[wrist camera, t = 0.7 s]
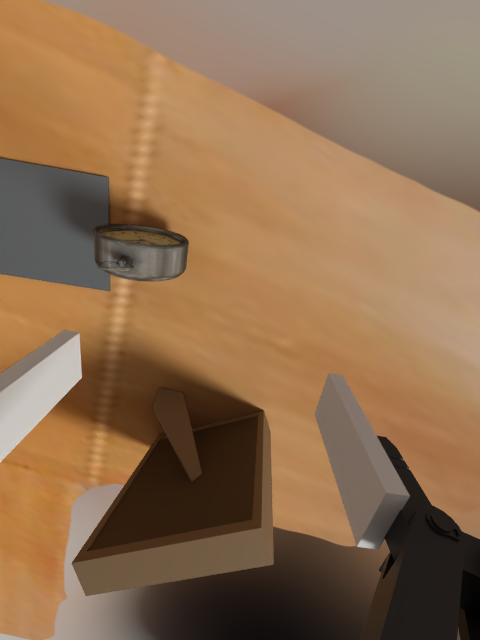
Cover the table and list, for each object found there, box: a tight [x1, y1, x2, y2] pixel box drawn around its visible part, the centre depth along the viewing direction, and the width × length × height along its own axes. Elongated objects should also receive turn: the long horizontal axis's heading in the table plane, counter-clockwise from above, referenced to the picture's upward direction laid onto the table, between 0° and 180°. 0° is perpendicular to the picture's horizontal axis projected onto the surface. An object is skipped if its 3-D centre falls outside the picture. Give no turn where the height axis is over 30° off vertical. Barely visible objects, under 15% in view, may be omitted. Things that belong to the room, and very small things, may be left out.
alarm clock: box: [93, 224, 189, 281], centre depth 34 cm, size 11×5×16 cm, turn 80°
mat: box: [0, 158, 110, 291], centre depth 40 cm, size 20×16×1 cm
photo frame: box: [72, 388, 274, 596], centre depth 41 cm, size 15×22×25 cm
